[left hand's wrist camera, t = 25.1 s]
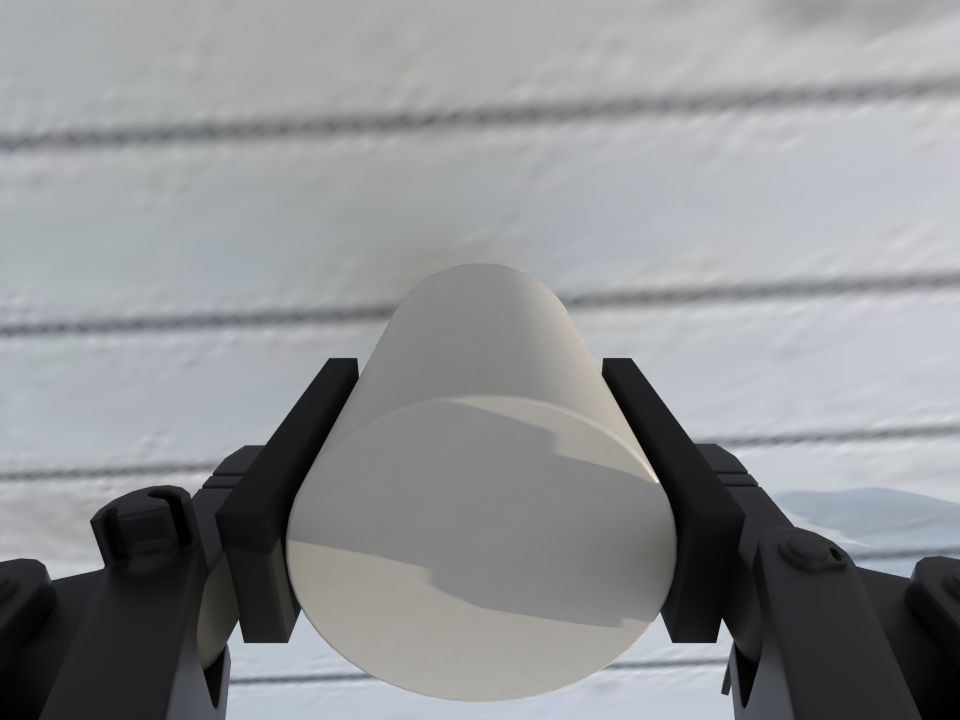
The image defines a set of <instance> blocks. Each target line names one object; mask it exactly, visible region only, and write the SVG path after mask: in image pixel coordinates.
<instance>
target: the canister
mask: <svg viewBox="0 0 960 720" xmlns="http://www.w3.org/2000/svg"><path fill="white" fill-rule="evenodd" d="M676 561H677V532H676V526H675V519H674V515H673V512H672V509H671V506H670V503H669V500H668V497H667V495H666V493H665V491H664V489H663V487H662V485H661V483H660V482H659V480H658V478H657V476H656V474H655V472H654V470H653V469H652V467H651V465H650V463H649V461H648V459H647V458H646V456H645V454H644V452H643V450H642V448H641V447H640V445H639V443H638V441H637V439H636V437H635V435H634V434H633V432H632V430H631V428H630V426H629V424H628V423H627V421H626V419H625V417H624V415H623V413H622V412H621V410H620V408H619V406H618V404H617V402H616V401H615V399H614V397H613V395H612V393H611V391H610V390H609V388H608V386H607V384H606V382H605V380H604V379H603V377H602V375H601V373H600V371H599V369H598V368H597V366H596V364H595V362H594V360H593V358H592V357H591V355H590V353H589V351H588V349H587V347H586V345H585V344H584V342H583V340H582V338H581V336H580V334H579V333H578V331H577V329H576V327H575V325H574V323H573V322H572V320H571V318H570V316H569V314H568V312H567V311H566V309H565V307H564V306H563V305H562V303H561V302H560V301H559V299H558V298H557V297H556V296H555V295H554V294H553V293H552V292H551V291H550V290H549V289H548V288H547V287H546V286H544V285H543V284H542V283H540V282H539V281H538V280H536V279H534V278H533V277H531V276H529V275H527V274H525V273H523V272H520V271H518V270H516V269H512V268H509V267H505V266H501V265H493V264H469V265H461V266H457V267H453V268H450V269H446V270H444V271H442V272H439V273H437V274H435V275H433V276H431V277H429V278H428V279H426V280H424V281H423V282H422V283H420V284H419V285H418V286H416V287H415V288H414V289H413V290H412V291H411V292H410V293H409V294H408V295H407V296H406V297H405V298H404V299H403V301H402V302H401V303H400V305H399V306H398V307H397V309H396V311H395V312H394V314H393V316H392V318H391V320H390V322H389V324H388V325H387V327H386V329H385V331H384V333H383V335H382V337H381V338H380V340H379V342H378V344H377V346H376V348H375V350H374V351H373V353H372V355H371V357H370V359H369V361H368V363H367V364H366V366H365V368H364V370H363V372H362V374H361V376H360V377H359V379H358V381H357V383H356V385H355V387H354V389H353V390H352V392H351V394H350V396H349V398H348V400H347V402H346V403H345V405H344V407H343V409H342V411H341V413H340V415H339V416H338V418H337V420H336V422H335V424H334V426H333V428H332V429H331V431H330V433H329V435H328V437H327V439H326V441H325V442H324V444H323V446H322V448H321V450H320V452H319V454H318V455H317V457H316V459H315V461H314V463H313V465H312V467H311V468H310V470H309V472H308V474H307V476H306V478H305V480H304V481H303V483H302V485H301V487H300V489H299V491H298V493H297V495H296V497H295V500H294V503H293V506H292V509H291V512H290V515H289V519H288V525H287V532H286V562H287V567H288V573H289V578H290V582H291V585H292V587H293V590H294V593H295V596H296V599H297V601H298V602H299V604H300V606H301V608H302V610H303V612H304V614H305V616H306V617H307V619H308V620H309V621H310V623H311V624H312V625H313V627H314V628H315V630H316V631H317V632H318V633H319V634H320V635H321V637H322V638H323V639H324V640H325V641H326V642H327V643H328V644H329V645H330V646H331V647H332V648H333V649H334V650H336V651H337V652H338V653H339V654H340V655H342V656H343V657H344V658H345V659H346V660H348V661H349V662H351V663H352V664H354V665H355V666H357V667H358V668H360V669H361V670H363V671H365V672H366V673H368V674H370V675H372V676H374V677H376V678H378V679H380V680H382V681H384V682H386V683H389V684H391V685H394V686H397V687H399V688H402V689H404V690H408V691H411V692H415V693H418V694H422V695H425V696H431V697H436V698H442V699H447V700H457V701H468V702H495V701H506V700H516V699H521V698H527V697H532V696H537V695H541V694H545V693H548V692H552V691H555V690H558V689H561V688H564V687H566V686H569V685H571V684H574V683H577V682H579V681H581V680H583V679H585V678H587V677H589V676H591V675H593V674H595V673H597V672H598V671H600V670H601V669H603V668H604V667H606V666H608V665H609V664H611V663H612V662H614V661H615V660H616V659H618V658H619V657H620V656H621V655H622V654H624V653H625V652H626V651H627V650H629V649H630V648H631V647H632V646H633V645H634V644H635V643H636V642H637V641H638V640H639V639H640V638H641V636H642V635H643V634H644V633H645V632H646V631H647V629H648V628H649V627H650V625H651V624H652V623H653V621H654V620H655V618H656V617H657V615H658V614H659V612H660V610H661V608H662V606H663V604H664V602H665V600H666V599H667V596H668V593H669V590H670V587H671V584H672V582H673V578H674V572H675V567H676Z"/></svg>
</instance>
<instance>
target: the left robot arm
mask: <svg viewBox="0 0 960 720" xmlns="http://www.w3.org/2000/svg"><path fill="white" fill-rule="evenodd" d="M602 377H603V379H604V380H605V382H606V384H607V386H608V388H609V390H610V391H611V393H612V395H613V397H614V399H615V401H616V402H617V404H618V406H619V408H620V410H621V412H622V413H623V415H624V417H625V419H626V421H627V423H628V424H629V426H630V428H631V430H632V432H633V434H634V435H635V437H636V439H637V441H638V443H639V445H640V447H641V448H642V450H643V452H644V454H645V456H646V458H647V459H648V461H649V463H650V465H651V467H652V469H653V470H654V472H655V474H656V476H657V478H658V480H659V482H660V483H661V485H662V487H663V489H664V491H665V493H666V495H667V497H668V500H669V503H670V506H671V509H672V512H673V515H674V519H675V526H676V532H677V561H676V567H675V572H674V578H673V582H672V584H671V587H670V590H669V593H668V596H667V599H666V600H665V602H664V604H663V606H662V608H661V610H660V612H661V615H662V617H663V620H664V623H665V625H666V628H667V630H668V633H669V635H670V638H671V640H672V643H716V641H717V637H718V633H719V628H720V624H721V620H722V618H723V620H724V622H725V624H726V626H727V628H728V630H729V632H730V634H731V635H732V637H733V639H734V640H733V644H732V648H731V652H730V656H729V660H728V664H727V668H726V672H725V676H724V680H723V685H722V691H721V694H724V695H729V691H730V687H731V685H732V695H733V705H734V715H735V720H960V560H959V559H953V558H948V557H942V556H937V557H925V558H923V559H922V560H920V561H919V562H917V563H916V566H915V568H914V570H913V573H912V575H911V578H905V577H900V576H896V575H891V574H887V573H882V572H877V571H873V570H868V569H864V568H860V567H857V566H856V565H855V564H854V562H853V561H852V559H851V558H850V557H849V555H848V554H847V553H846V552H845V551H844V550H843V549H841V548H840V547H839V546H838V545H836V544H835V543H834V542H832V541H831V540H829V539H827V538H825V537H823V536H821V535H819V534H817V533H814V532H811V531H808V530H804V529H801V528H798V527H794V526H793V524H792V523H791V522H790V521H789V520H788V518H787V517H786V516H785V515H784V514H783V513H782V511H781V510H780V509H779V508H778V507H777V505H776V504H775V503H774V502H773V501H772V499H771V498H770V497H769V496H768V495H767V493H766V492H765V491H764V490H763V489H762V488H761V487H759V486H758V483H757V482H756V480H755V479H754V478H753V477H752V476H751V474H748V471H747V470H746V468H745V467H744V466H743V465H742V464H741V463H740V461H739V460H738V459H737V458H736V457H735V456H734V455H732V454H731V453H729V452H727V451H726V450H724V449H723V448H721V447H720V446H718V445H716V444H694V443H693V442H692V441H691V439H690V438H689V436H688V435H687V434H686V432H685V431H684V430H683V428H682V427H681V426H680V424H679V423H678V421H677V420H676V419H675V417H674V416H673V415H672V413H671V412H670V411H669V409H668V408H667V406H666V405H665V404H664V402H663V401H662V400H661V398H660V397H659V396H658V394H657V393H656V391H655V390H654V389H653V387H652V386H651V385H650V383H649V382H648V381H647V379H646V378H645V376H644V375H643V374H642V372H641V371H640V370H639V368H638V367H637V366H636V364H635V363H634V361H633V360H632V359H631V358H603V366H602ZM358 379H359V372H358V361H357V358H329V359H328V361H327V362H326V363H325V365H324V366H323V368H322V369H321V370H320V372H319V373H318V374H317V376H316V377H315V378H314V380H313V381H312V383H311V384H310V385H309V387H308V388H307V389H306V391H305V392H304V393H303V395H302V396H301V397H300V399H299V400H298V402H297V403H296V404H295V406H294V407H293V408H292V410H291V411H290V412H289V414H288V415H287V417H286V418H285V419H284V421H283V422H282V423H281V425H280V426H279V427H278V429H277V430H276V432H275V433H274V434H273V436H272V437H271V438H270V440H269V441H268V442H267V444H266V445H245V446H244V447H242V448H241V449H239V450H237V451H236V452H234V453H233V454H231V455H230V456H228V457H226V458H225V459H224V460H223V462H222V463H221V464H220V465H219V466H218V468H217V469H216V470H215V471H214V472H213V476H210V477H209V478H208V480H207V481H206V482H205V483H204V484H203V486H202V489H199V490H198V492H197V493H196V494H195V495H194V496H193V498H192V499H191V497H190V493H188V492H187V491H186V490H184V489H183V488H182V487H176V486H170V485H164V486H152V487H148V488H144V489H140V490H136V491H133V492H130V493H128V494H126V495H123V496H121V497H119V498H117V499H114V500H113V501H111V502H110V503H109V504H107V505H106V506H104V507H103V508H101V509H100V510H99V511H98V512H97V513H96V514H95V515H94V517H93V518H92V519H91V520H90V523H91V526H92V529H93V532H94V535H95V538H96V541H97V543H98V546H99V549H100V552H101V555H102V558H103V561H104V564H105V566H104V569H101V570H97V571H93V572H89V573H84V574H79V575H75V576H70V577H66V578H61V579H56V580H52V581H51V579H50V577H49V574H48V572H47V569H46V567H45V565H44V564H42V563H41V562H39V561H38V560H36V559H23V558H20V559H15V560H9V561H3V562H0V720H225V716H226V707H227V697H228V687H229V677H230V667H231V659H230V653H229V648H228V644H227V641H228V639H229V637H230V635H231V633H232V631H233V629H234V627H235V625H236V623H237V622H238V620H239V623H240V627H241V631H242V635H243V640H244V643H288V641H289V639H290V636H291V634H292V631H293V629H294V626H295V623H296V621H297V618H298V616H299V613H300V611H301V606H300V604H299V602H298V601H297V599H296V596H295V593H294V590H293V587H292V585H291V582H290V578H289V573H288V567H287V562H286V532H287V525H288V519H289V515H290V512H291V509H292V506H293V503H294V500H295V497H296V495H297V493H298V491H299V489H300V487H301V485H302V483H303V481H304V480H305V478H306V476H307V474H308V472H309V470H310V468H311V467H312V465H313V463H314V461H315V459H316V457H317V455H318V454H319V452H320V450H321V448H322V446H323V444H324V442H325V441H326V439H327V437H328V435H329V433H330V431H331V429H332V428H333V426H334V424H335V422H336V420H337V418H338V416H339V415H340V413H341V411H342V409H343V407H344V405H345V403H346V402H347V400H348V398H349V396H350V394H351V392H352V390H353V389H354V387H355V385H356V383H357V381H358Z"/></svg>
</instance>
